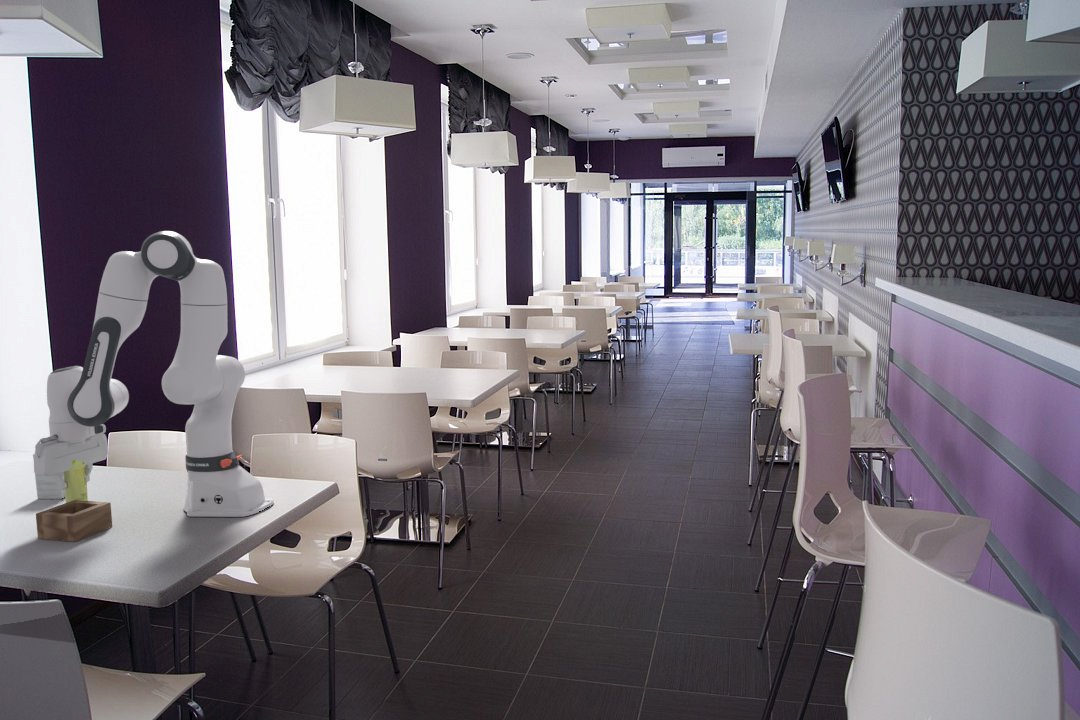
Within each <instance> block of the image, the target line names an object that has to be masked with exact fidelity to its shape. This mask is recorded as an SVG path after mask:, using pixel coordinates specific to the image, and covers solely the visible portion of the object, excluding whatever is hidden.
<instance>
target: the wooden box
mask: <svg viewBox="0 0 1080 720" xmlns="http://www.w3.org/2000/svg"><path fill="white" fill-rule="evenodd" d="M35 520H36V532H37V539H38V538H39V539H38V540H47V539H50V540H49V541H59V540H64V541H63V542H70V541H72V543H76V542H78V540H79V541H82V540H83V539H86V538H88V537H91V536H93V535H95V534H98V533H100V532H103V531H105V530H107V528H108V529H110V528H112V527H113V517H112V506H111V501H110V502H108V501H107V502H106V501H93V500H88V501H82V500H73V501H70V502H68V503H66V502H64V503H62V504H60V505H57V506H54V507H51V508H48V509H45V510H43V511H39V512H37V513H35ZM109 527H110V528H109Z"/></svg>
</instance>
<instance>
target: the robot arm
mask: <svg viewBox="0 0 1080 720" xmlns="http://www.w3.org/2000/svg"><path fill="white" fill-rule="evenodd" d="M194 254H195V250H194V247H193V246H192V244H191V242H190V240H189V239H188V238H187V237H186V236H184V235H182V234H180V233H178V232H176V231H172V230H163V231H162V230H161V231H158V232H155V233H152V234H150V235H148V236H147V238H146V239H144V241H143V242H142V244H141V248H140V251H128V250H125V251H124V250H122V251H118V252H115V253H113V254H112V255H111V256H110V257H109V258H108V261H107V263H106V265H105V268H104V270H103V273H102V277H101V281H100V285H99V290H98V296H97V301H96V302H97V303H96V308H95V313H94V314H95V315H94V320H93V324H92V331H91V334H90V338H89V339H90V340H89V344H88V347H87V351H86V355H85V358H84V359H85V360H84V362H83V366H80V365H73V366H71V365H70V366H67V367H63V368H58V369H56V370H53V371H52V372H50V373H49V374H48V376H47V380H46V381H47V382H46V401H47V402H46V403H47V407H48V409H49V417H48V426H49V427H48V428H49V436H47V437H42V438H40V439H39V440H38V441H37V443H36V444H35V445H34V448H35V450H34V454H35V455H34V459H33V473H34V475H35V474H36V475H37V476H41V477H48V476H53V478H54V480H55V481H56V482H57V486H58V490H64V489H67V488H68V482H65V481H64V480H63V478H62V477H63V476H64V472H65V471H68V470H70V469H71V467H72V462H73V461H74V460H79V461H83V463H84V464H85V466H86V480H87V483H88V482H90V481H91V479H90V478H91V477H90V475H91V473H92V470H93V466H94V465H93V464H94V463H98V462H101V461H104V460H106V459H107V457H108V455H109V445H108V438H107V436H106V434H105V433H106V432H107V431H106V430H107V427H106V425H105V424H104V423H106V422H107V421H108V420H110V418H112V417H115V416H116V415H117V414H120V413H121V412H122V411H124V409H125V408H126V407H127V406H128V404H129V402H130V392H129V390H128V387H127V386H126V384H124V383H123V382H122V381H120V380H119V379H116V378H112V376H113V372H114V368H115V363H116V359H117V355H118V352H119V350H120V348H121V346H122V345H123V343H124V342H125V341H126V340H127V339H128V338H129V337H130V336H131V335H132V334H133V333H134V332H135V331H136V330H137V329H138V328H139V327H140V325H141V323H142V321H143V319H144V317H145V313H146V311H147V306H148V300H149V296H150V295H149V294H150V289H151V286H152V283H153V281H154V280H155V279H156V278H157V277H159V276H160V277H163V278H167V279H171V280H174V281H177V282H178V284H179V289H180V333H179V340H178V345H177V348H176V350H175V354H174V357H173V360H172V362H171V364H170V365H169V367H168V368H167V370H165V372H164V373H163V375H162V378H161V389H162V391H163V394H164V396H165V397H166V398H167V400H169V402H172V403H174V404H177V405H194V406H193V410H192V413H191V415H190V417H189V418H188V419H187V421H186V423H185V428H184V431H185V444H186V454H185V456H184V457H185V470H186V473H187V483H186V484H187V486H186V487H187V488H186V497H185V502H184V506H183V510H184V511H185V512H186V513H187V514H186V515H187V517H209V518H210V517H217V518H218V517H221V518H223V517H227V518H228V517H229V518H230V517H231V518H232V517H233V518H235V517H236V518H237V517H238V518H239V517H241V518H242V517H247V516H251V515H255V514H258V513H260V512H259V511H261V512H263V511H265V510H266V509H265V508H267V507H269V506H270V507H271V505H272V504H273V505H274V503H273V502H274V499H273V498H271V497H266V496H265V493H264V487H263V485H262V482H261V481H260V480H259V479H258V478H256V477H255V476H254V475H253V474H251V473H250V472H248V471H247V469H245V468H243V467H242V466H241V465H240V462H239V461H240V460H242V459H243V457H242V456H243V454H239V455H236V453H235V451H234V450H233V440H232V439H233V437H232V435H233V434H232V418H233V413H234V407H235V402H236V400H237V399H236V398H237V396H238V393H239V390H240V389H241V387H242V386H243V384H244V383H245V378H246V370H245V368H244V366H243V364H242V362H241V361H240V360H239V359H238V358H236V357H233V356H229V355H222V354H218V353H219V350H220V347H221V345H222V344H223V341H224V340H225V339H226V338H227V335H228V292H227V284H226V278H225V274H224V270H223V268H222V266H221V265H220V264H219V263H217V262H215V261H213V260H210V259H202V258H198V257H196V255H194ZM273 505H272V506H273ZM270 507H269V508H270ZM264 509H265V510H264ZM267 509H268V508H267ZM262 510H263V511H262Z"/></svg>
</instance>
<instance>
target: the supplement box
mask: <svg viewBox="0 0 1080 720" xmlns="http://www.w3.org/2000/svg"><path fill="white" fill-rule="evenodd" d="M34 455H35V453H34V454H32V456H33V457H32V458H33V459H32V460H34ZM34 477H35V478H34V479H35V486H36V497H37V499H38V500H42V499H43V500H63V499H64V497H65V489H64V490H58V486H57V482H56V481H55V480H54V478H53V476H48V477H41V476H37V475H36V474H35V473H34ZM62 478H63V480H64V476H63V477H62ZM62 498H63V499H62Z"/></svg>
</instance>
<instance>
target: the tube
mask: <svg viewBox="0 0 1080 720" xmlns="http://www.w3.org/2000/svg"><path fill="white" fill-rule="evenodd" d="M64 481H65V482H68V488H67V489H65V503H68V502H70V501H73V500H82V501H89V498H88V484H87V483H88V482H87V480H86V466H85V464H84V463H83V461H79V460H74V461H73V462H72V467H71V469H70V470H68V471H65V472H64Z"/></svg>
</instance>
